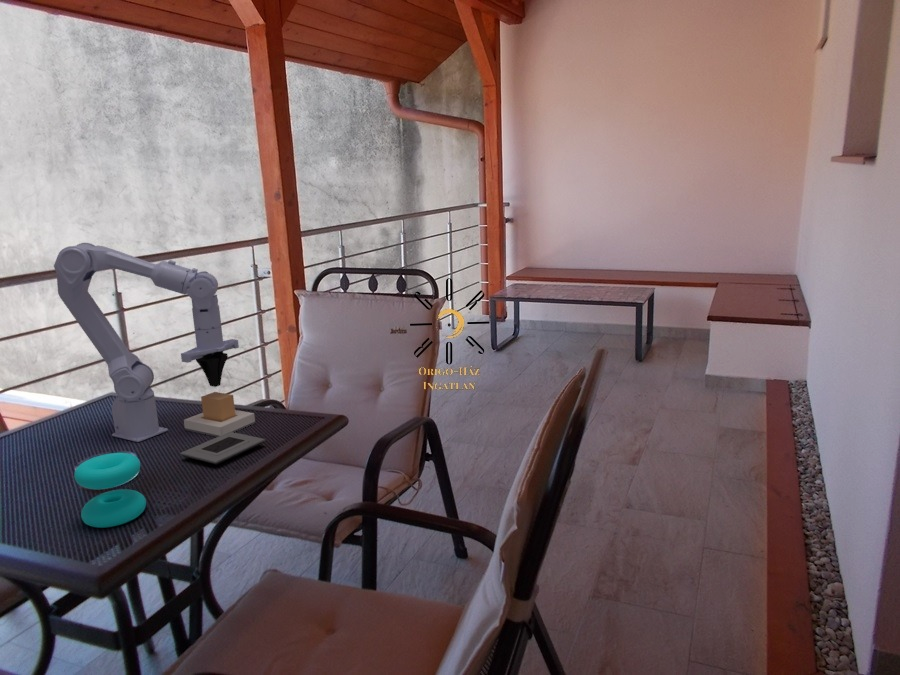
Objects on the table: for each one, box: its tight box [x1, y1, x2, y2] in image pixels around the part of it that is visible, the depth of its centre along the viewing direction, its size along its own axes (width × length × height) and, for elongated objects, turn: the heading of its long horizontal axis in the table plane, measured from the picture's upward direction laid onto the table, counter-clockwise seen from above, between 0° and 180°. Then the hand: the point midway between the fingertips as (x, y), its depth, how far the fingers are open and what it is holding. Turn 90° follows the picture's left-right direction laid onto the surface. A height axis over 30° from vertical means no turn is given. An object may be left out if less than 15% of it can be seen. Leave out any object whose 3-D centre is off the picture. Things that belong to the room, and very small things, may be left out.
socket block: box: [183, 409, 256, 438], centre depth 159 cm, size 12×10×2 cm
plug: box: [200, 391, 236, 422], centre depth 158 cm, size 6×4×7 cm, turn 60°
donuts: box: [73, 452, 147, 529], centre depth 116 cm, size 10×10×10 cm
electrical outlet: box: [179, 432, 266, 466], centre depth 143 cm, size 13×10×2 cm
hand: (215, 385), depth 157 cm, fingers closed
